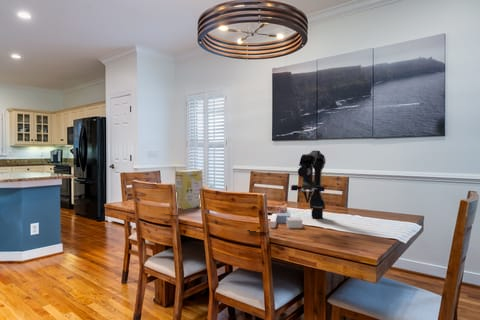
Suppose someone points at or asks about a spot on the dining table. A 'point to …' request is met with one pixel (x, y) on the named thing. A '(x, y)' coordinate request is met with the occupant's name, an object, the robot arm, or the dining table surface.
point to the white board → (273, 221)
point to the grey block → (294, 222)
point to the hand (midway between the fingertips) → (307, 202)
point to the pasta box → (188, 188)
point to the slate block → (282, 217)
